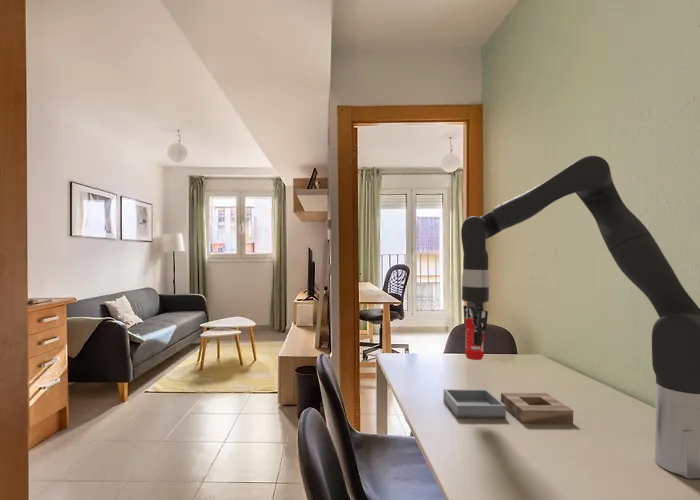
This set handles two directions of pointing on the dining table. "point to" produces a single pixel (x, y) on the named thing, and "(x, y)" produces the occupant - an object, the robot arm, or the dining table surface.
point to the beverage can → (472, 342)
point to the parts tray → (474, 404)
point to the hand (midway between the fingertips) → (474, 342)
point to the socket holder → (536, 408)
